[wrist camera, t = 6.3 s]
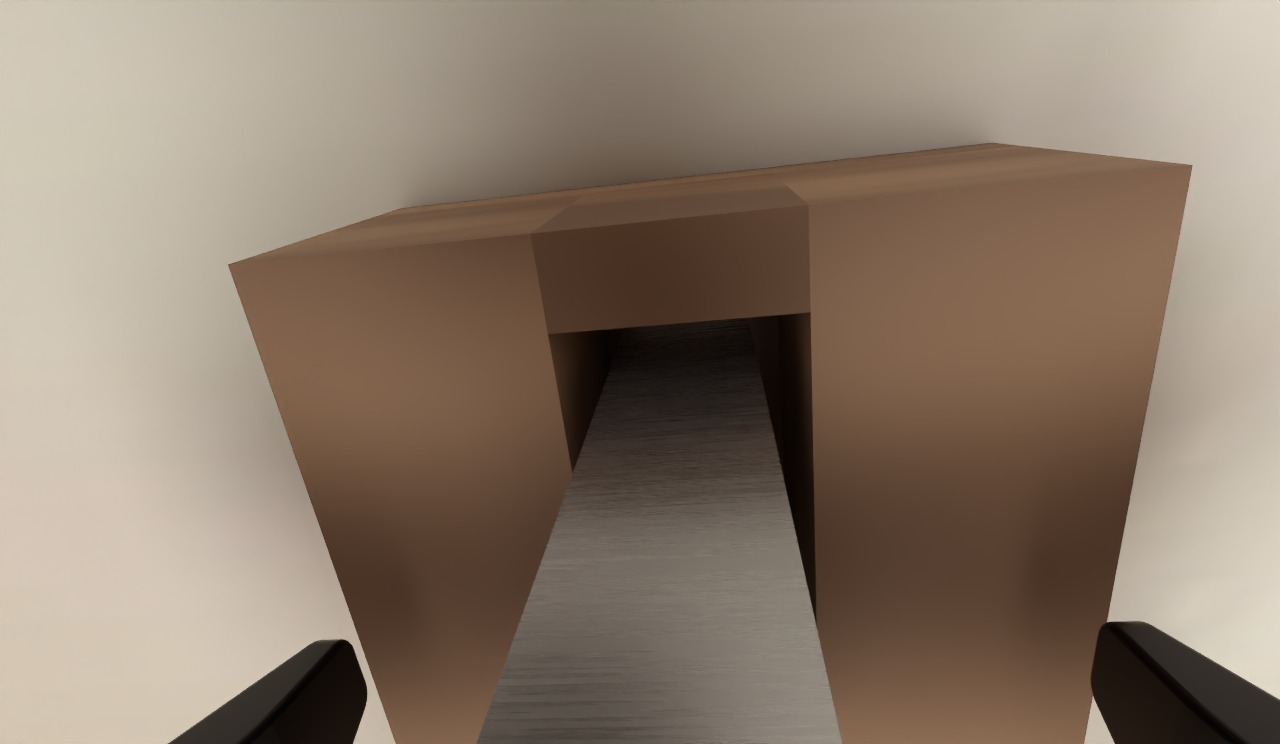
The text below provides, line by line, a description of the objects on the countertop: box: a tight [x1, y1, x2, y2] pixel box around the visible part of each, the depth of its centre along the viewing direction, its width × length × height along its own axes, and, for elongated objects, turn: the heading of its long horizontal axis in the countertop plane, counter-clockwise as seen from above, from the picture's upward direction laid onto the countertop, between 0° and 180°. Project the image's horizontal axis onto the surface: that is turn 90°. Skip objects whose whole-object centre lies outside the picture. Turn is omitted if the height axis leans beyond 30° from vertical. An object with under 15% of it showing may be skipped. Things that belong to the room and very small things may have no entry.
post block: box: [229, 143, 1192, 744], centre depth 12 cm, size 10×11×5 cm
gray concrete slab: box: [476, 318, 842, 744], centre depth 8 cm, size 6×2×10 cm, turn 7°
